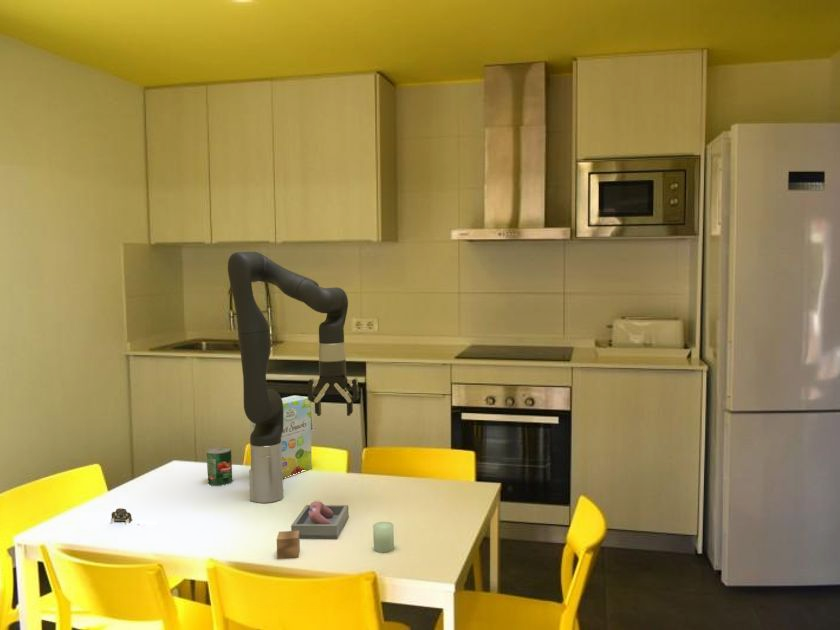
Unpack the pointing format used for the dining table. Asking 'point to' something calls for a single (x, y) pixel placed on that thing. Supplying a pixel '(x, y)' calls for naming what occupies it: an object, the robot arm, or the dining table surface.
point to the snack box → (295, 435)
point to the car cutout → (121, 516)
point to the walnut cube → (288, 544)
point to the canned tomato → (219, 466)
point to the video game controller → (319, 513)
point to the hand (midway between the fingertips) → (334, 415)
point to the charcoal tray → (321, 530)
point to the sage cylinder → (383, 537)
